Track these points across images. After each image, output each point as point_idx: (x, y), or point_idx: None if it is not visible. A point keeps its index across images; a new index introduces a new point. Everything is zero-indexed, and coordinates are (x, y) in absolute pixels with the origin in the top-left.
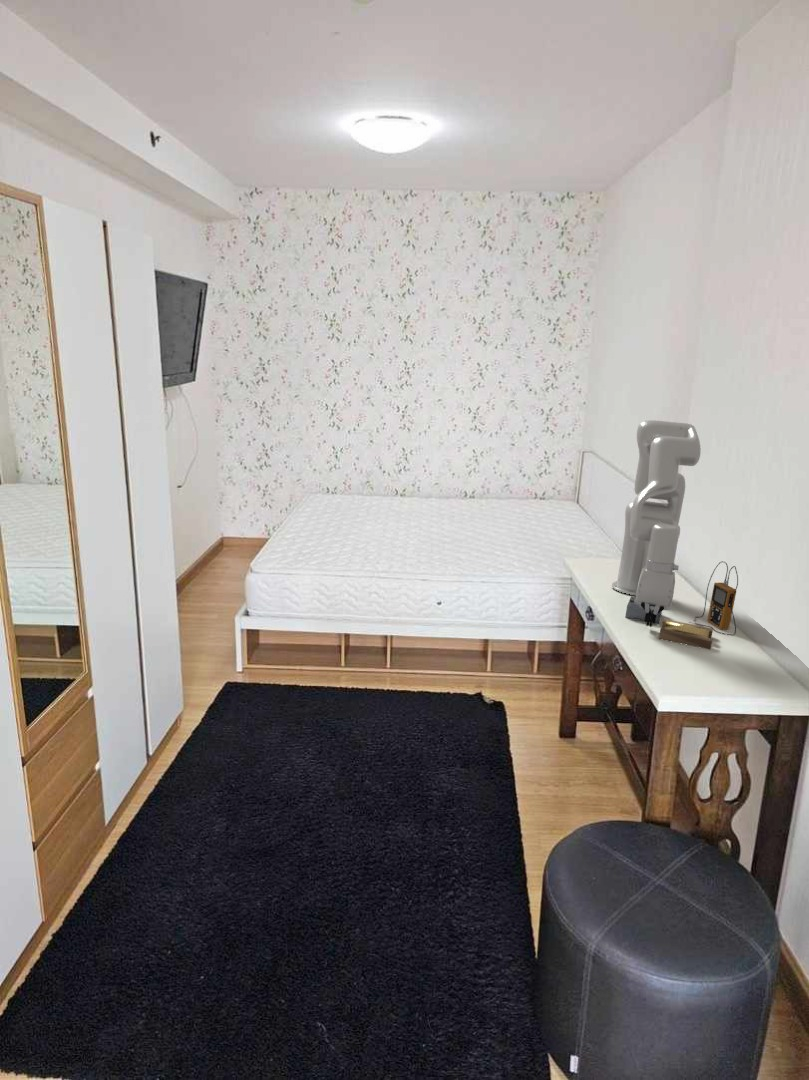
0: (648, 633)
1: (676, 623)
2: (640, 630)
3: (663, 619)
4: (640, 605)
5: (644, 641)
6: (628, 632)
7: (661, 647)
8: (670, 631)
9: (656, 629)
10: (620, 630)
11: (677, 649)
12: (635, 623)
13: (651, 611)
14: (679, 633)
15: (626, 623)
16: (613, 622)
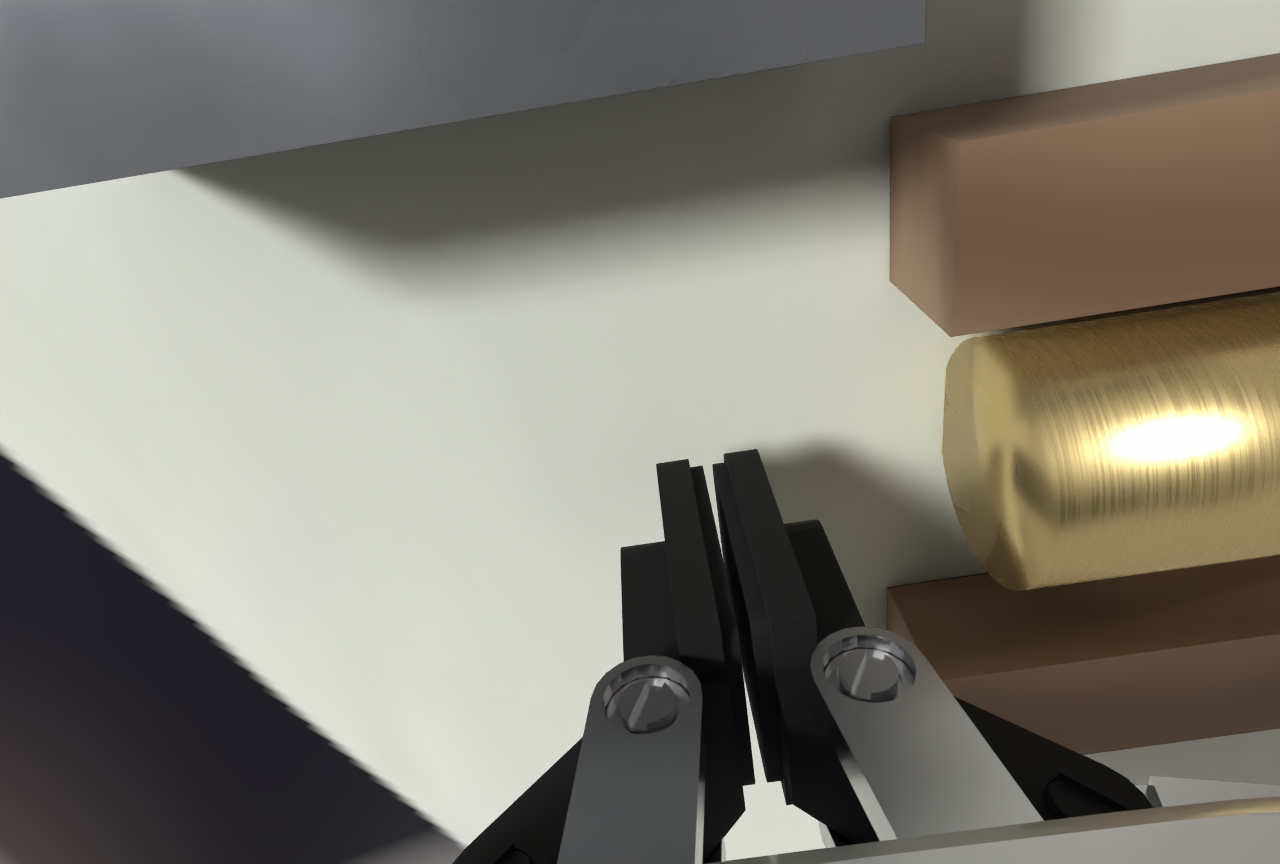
0: None
1: (1262, 530)
2: (608, 566)
3: (967, 204)
4: None
5: (744, 821)
6: (504, 722)
7: None
8: (1085, 707)
9: (815, 357)
10: (398, 728)
11: None
12: (433, 333)
13: (639, 89)
14: (1223, 692)
15: (323, 443)
16: (161, 542)
